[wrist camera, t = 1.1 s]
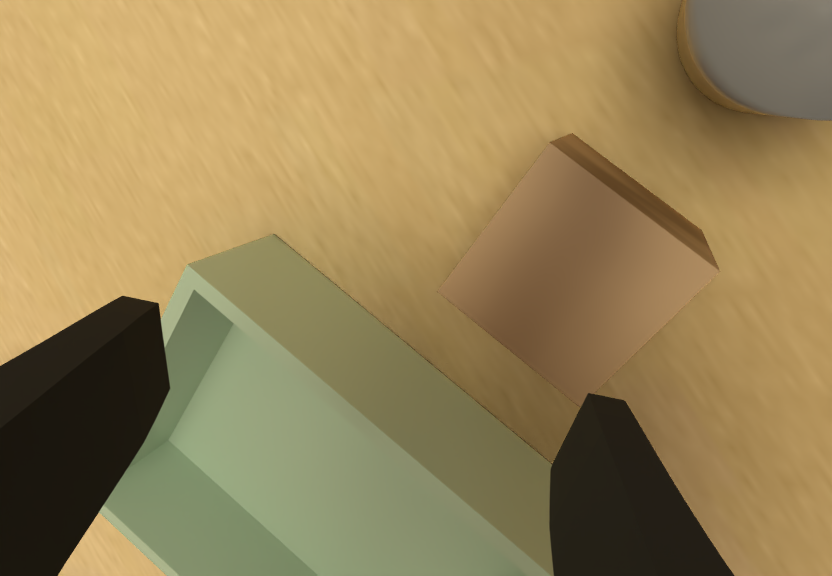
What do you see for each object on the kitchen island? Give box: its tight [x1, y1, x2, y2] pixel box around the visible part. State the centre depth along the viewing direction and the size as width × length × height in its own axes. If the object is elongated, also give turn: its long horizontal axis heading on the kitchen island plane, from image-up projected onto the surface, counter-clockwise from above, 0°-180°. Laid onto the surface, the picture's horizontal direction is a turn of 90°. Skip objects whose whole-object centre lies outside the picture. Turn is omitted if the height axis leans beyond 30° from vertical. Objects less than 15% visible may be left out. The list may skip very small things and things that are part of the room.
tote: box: [99, 234, 554, 576], centre depth 23 cm, size 17×13×5 cm
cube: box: [437, 133, 720, 407], centre depth 17 cm, size 5×5×5 cm
